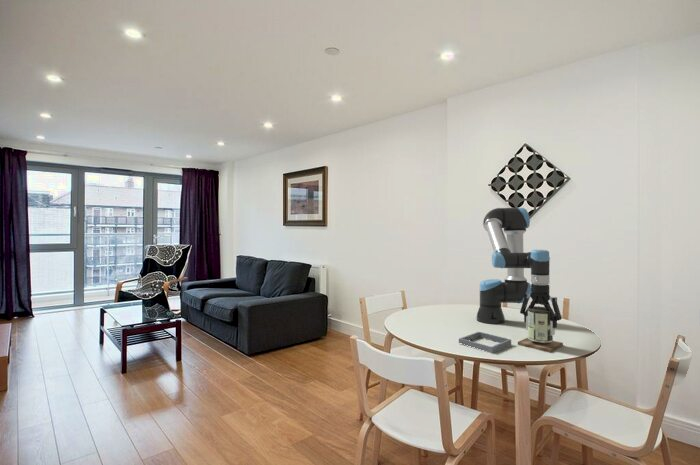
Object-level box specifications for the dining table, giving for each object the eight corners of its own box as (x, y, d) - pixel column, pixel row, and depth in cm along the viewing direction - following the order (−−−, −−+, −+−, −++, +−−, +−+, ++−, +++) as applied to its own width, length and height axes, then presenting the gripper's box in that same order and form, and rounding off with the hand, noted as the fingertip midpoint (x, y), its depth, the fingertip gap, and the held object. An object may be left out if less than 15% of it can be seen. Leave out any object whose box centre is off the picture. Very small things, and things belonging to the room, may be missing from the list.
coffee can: (543, 335, 172) (543, 305, 171) (557, 342, 162) (558, 311, 161) (522, 336, 171) (522, 306, 171) (535, 343, 161) (535, 311, 160)
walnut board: (517, 344, 167) (517, 341, 167) (531, 338, 176) (531, 335, 176) (549, 352, 156) (549, 349, 156) (562, 345, 165) (562, 342, 165)
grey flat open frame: (458, 343, 169) (458, 338, 169) (478, 336, 180) (478, 331, 180) (492, 353, 156) (492, 347, 156) (511, 344, 167) (511, 339, 167)
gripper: (511, 281, 172) (511, 328, 173) (563, 288, 155) (563, 339, 155) (519, 280, 177) (519, 325, 177) (570, 285, 159) (570, 336, 160)
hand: (540, 332), depth 166 cm, fingers closed on coffee can, 10 cm apart
